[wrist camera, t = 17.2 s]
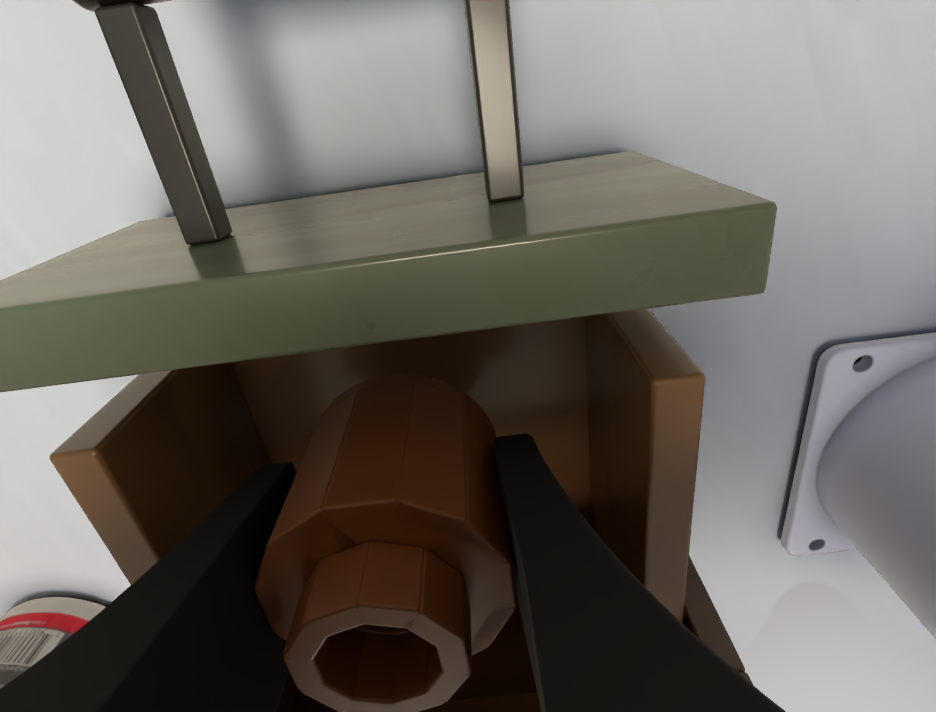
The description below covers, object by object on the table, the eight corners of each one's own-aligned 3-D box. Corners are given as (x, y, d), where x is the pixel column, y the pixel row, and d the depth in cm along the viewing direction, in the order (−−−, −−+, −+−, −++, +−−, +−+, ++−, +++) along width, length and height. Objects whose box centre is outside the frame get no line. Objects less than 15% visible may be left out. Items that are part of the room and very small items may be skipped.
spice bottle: (486, 361, 10) (508, 548, 6) (506, 509, 12) (532, 730, 8) (291, 385, 10) (183, 584, 6) (340, 527, 12) (280, 754, 8)
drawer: (29, -34, 10) (-454, -169, 4) (639, -135, 9) (870, -418, 4) (295, 586, 17) (230, 790, 12) (628, 550, 17) (701, 747, 12)
